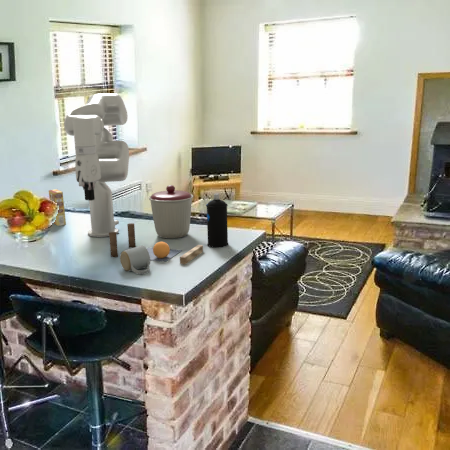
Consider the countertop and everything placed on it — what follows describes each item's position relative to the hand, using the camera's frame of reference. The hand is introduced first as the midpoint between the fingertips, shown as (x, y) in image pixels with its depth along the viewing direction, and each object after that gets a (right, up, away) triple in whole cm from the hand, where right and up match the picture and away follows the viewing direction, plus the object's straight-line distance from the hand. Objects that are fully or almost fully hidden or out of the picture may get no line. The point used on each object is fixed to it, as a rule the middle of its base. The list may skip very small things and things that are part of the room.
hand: (89, 199), depth 210 cm
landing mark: (+26, -20, -5) cm, 33 cm away
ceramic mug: (+21, -25, -21) cm, 39 cm away
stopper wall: (+39, -21, -9) cm, 45 cm away
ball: (+28, -18, -10) cm, 35 cm away
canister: (+29, -14, +21) cm, 39 cm away
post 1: (+10, -21, -6) cm, 24 cm away
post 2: (+15, -18, +6) cm, 24 cm away
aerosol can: (+48, -17, +6) cm, 51 cm away
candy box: (-25, -9, +46) cm, 53 cm away
